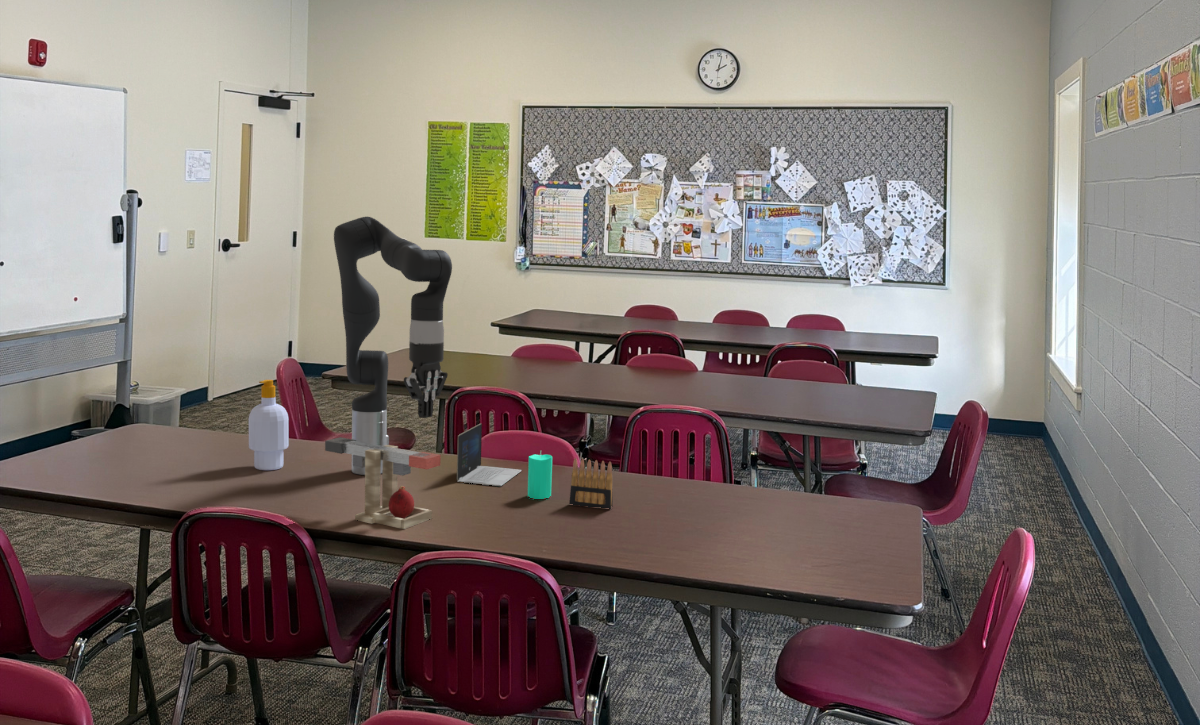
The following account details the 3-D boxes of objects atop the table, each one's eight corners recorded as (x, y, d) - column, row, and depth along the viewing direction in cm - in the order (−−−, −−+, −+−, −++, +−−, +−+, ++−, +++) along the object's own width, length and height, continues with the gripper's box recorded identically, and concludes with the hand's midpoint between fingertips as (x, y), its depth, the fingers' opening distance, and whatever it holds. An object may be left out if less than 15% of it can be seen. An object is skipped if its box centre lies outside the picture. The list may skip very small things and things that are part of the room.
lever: (325, 462, 237) (325, 440, 237) (340, 458, 242) (340, 437, 241) (426, 481, 223) (426, 458, 223) (440, 477, 228) (440, 454, 227)
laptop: (500, 488, 264) (502, 439, 262) (456, 483, 266) (457, 435, 265) (522, 472, 281) (523, 426, 279) (479, 468, 284) (480, 422, 282)
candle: (555, 495, 257) (556, 449, 256) (544, 501, 252) (545, 454, 250) (534, 492, 260) (536, 446, 258) (523, 497, 254) (524, 451, 253)
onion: (408, 524, 228) (408, 490, 227) (384, 522, 229) (384, 488, 228) (417, 517, 234) (418, 484, 233) (394, 515, 235) (394, 482, 234)
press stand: (355, 519, 230) (355, 451, 228) (389, 508, 241) (390, 442, 238) (401, 530, 224) (402, 460, 222) (434, 517, 234) (436, 450, 232)
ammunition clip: (612, 508, 248) (614, 460, 247) (610, 510, 247) (612, 462, 245) (571, 503, 251) (572, 456, 249) (569, 505, 249) (570, 458, 248)
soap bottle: (240, 469, 271) (239, 380, 268) (267, 461, 281) (266, 376, 278) (271, 474, 268) (270, 384, 264) (296, 466, 277) (296, 379, 274)
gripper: (432, 336, 230) (430, 410, 233) (393, 341, 218) (392, 419, 221) (458, 339, 227) (457, 414, 229) (420, 344, 215) (419, 423, 217)
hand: (425, 416), depth 225 cm, fingers closed
